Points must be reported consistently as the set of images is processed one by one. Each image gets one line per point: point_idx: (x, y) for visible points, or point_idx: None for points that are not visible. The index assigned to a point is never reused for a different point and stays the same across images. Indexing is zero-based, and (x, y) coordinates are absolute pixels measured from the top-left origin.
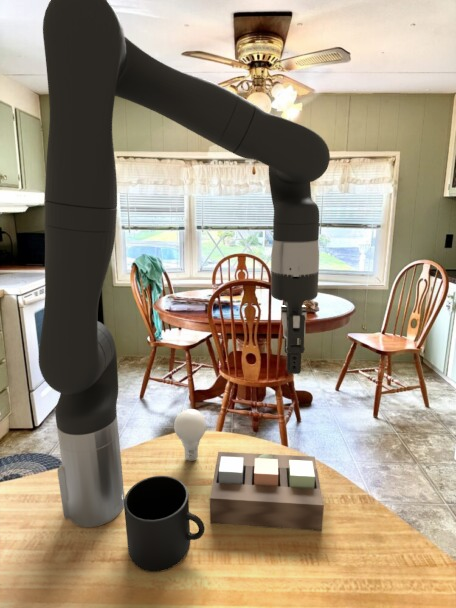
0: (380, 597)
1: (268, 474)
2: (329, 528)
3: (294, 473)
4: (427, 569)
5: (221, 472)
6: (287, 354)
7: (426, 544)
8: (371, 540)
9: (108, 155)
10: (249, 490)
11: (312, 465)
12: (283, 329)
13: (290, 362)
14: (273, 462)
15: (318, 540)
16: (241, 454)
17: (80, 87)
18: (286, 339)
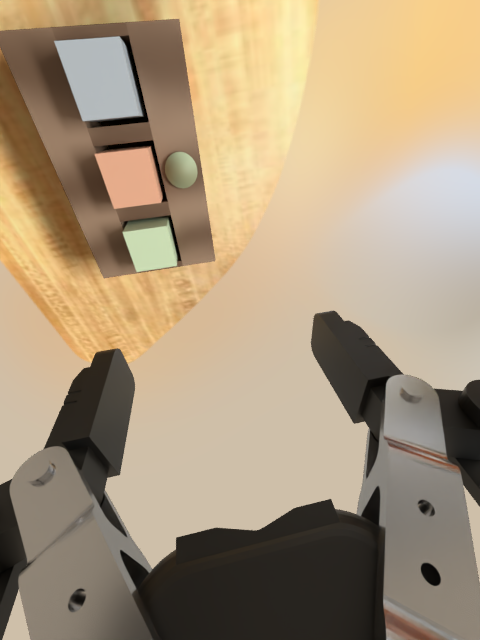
0: (50, 315)
1: (106, 187)
2: None
3: (130, 239)
4: None
5: (59, 52)
6: (66, 429)
7: (142, 353)
8: (124, 310)
9: None
10: (74, 143)
11: (165, 266)
12: (66, 610)
13: (63, 410)
14: (147, 194)
15: None
16: (185, 102)
17: None
18: (89, 505)
